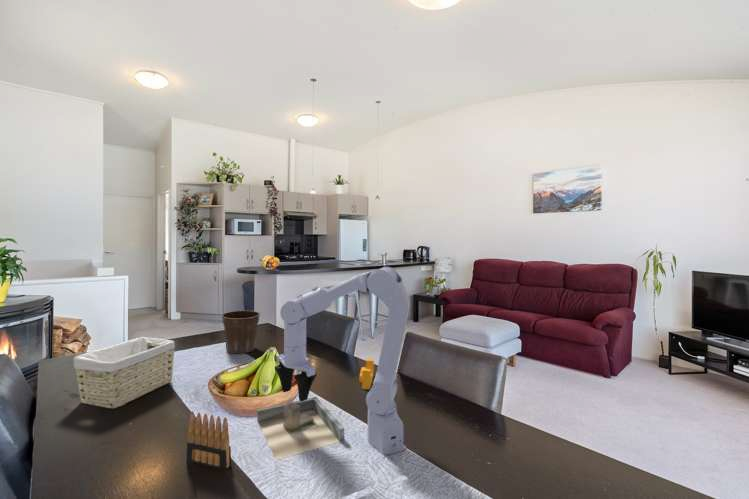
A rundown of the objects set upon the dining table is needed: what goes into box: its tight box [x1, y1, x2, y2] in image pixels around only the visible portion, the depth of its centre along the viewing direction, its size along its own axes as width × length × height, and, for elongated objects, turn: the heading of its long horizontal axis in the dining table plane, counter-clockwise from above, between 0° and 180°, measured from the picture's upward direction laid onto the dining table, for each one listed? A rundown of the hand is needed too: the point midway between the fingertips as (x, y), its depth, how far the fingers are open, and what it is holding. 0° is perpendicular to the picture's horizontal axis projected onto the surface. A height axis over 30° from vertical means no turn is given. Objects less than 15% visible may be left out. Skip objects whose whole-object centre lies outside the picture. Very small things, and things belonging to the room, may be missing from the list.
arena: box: [256, 396, 345, 461], centre depth 97 cm, size 20×17×4 cm
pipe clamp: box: [358, 358, 375, 390], centre depth 131 cm, size 12×4×6 cm, turn 174°
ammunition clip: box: [186, 410, 232, 471], centre depth 82 cm, size 11×2×12 cm, turn 73°
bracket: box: [283, 401, 314, 432], centre depth 99 cm, size 7×4×6 cm, turn 137°
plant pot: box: [221, 310, 261, 354], centre depth 165 cm, size 16×16×16 cm
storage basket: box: [73, 336, 176, 409], centre depth 120 cm, size 24×16×15 cm
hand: (294, 395), depth 98 cm, fingers open, 7 cm apart
